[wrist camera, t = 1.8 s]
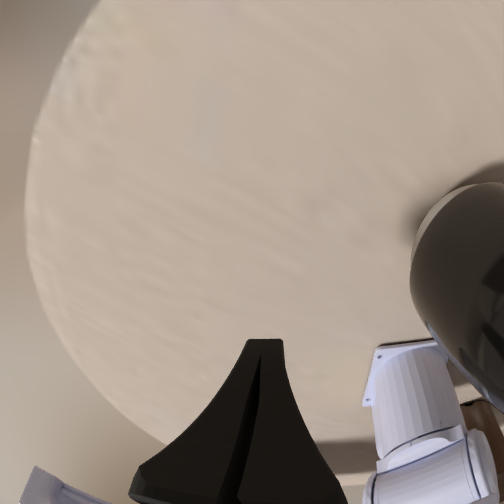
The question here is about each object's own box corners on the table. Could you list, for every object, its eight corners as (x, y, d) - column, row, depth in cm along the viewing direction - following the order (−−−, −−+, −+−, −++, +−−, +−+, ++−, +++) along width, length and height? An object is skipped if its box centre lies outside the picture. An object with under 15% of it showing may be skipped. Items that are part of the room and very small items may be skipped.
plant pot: (515, 398, 28) (541, 483, 14) (439, 450, 36) (451, 528, 22) (472, 380, 25) (506, 500, 12) (379, 442, 33) (385, 544, 20)
